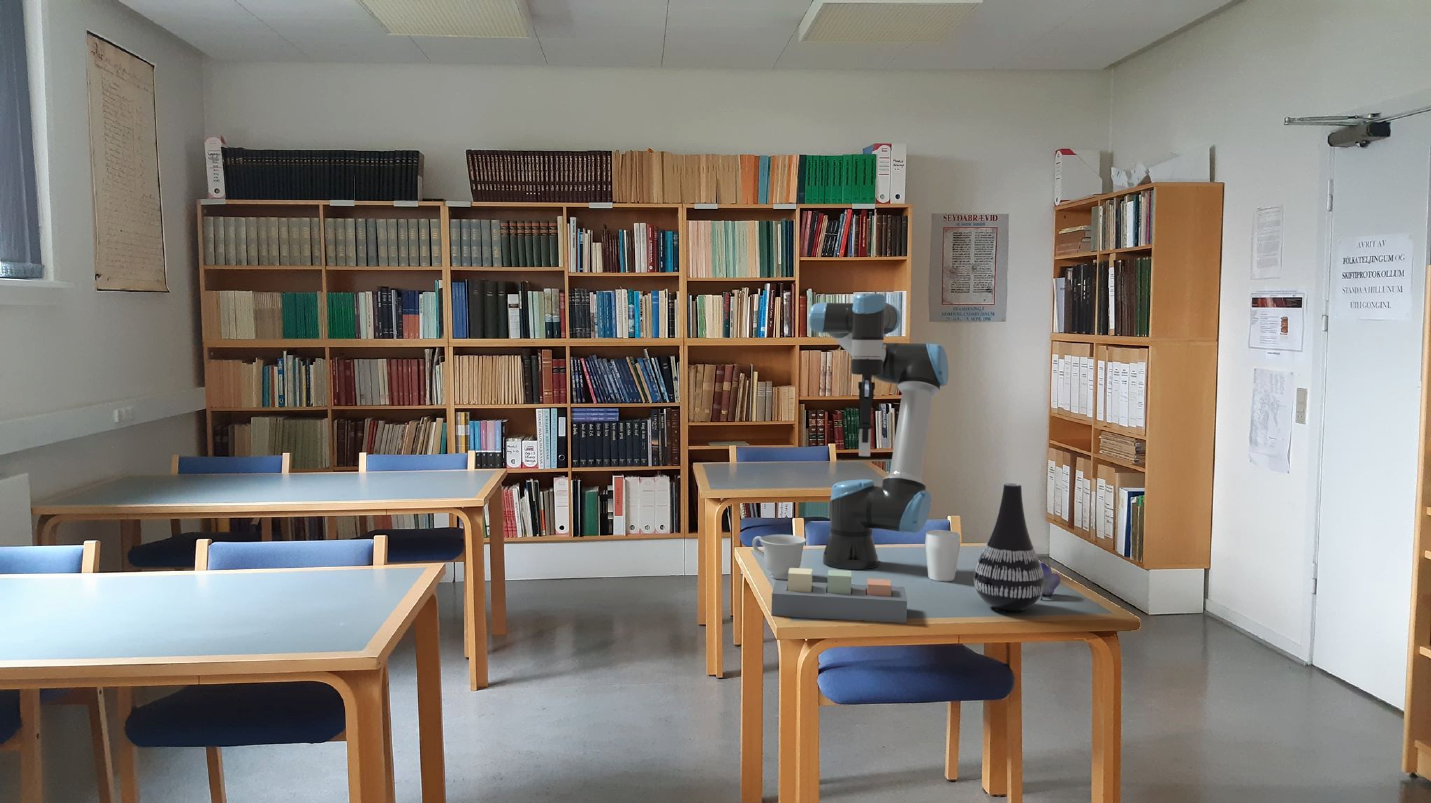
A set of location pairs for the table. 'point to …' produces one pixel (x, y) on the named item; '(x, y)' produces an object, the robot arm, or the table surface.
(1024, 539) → the vase
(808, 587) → the button cream
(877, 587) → the button terracotta
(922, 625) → the table surface
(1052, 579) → the flower
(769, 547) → the teacup
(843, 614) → the panel
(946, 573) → the cup
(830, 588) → the button sage
